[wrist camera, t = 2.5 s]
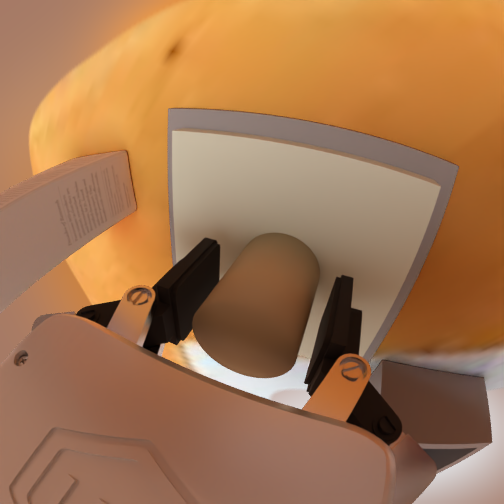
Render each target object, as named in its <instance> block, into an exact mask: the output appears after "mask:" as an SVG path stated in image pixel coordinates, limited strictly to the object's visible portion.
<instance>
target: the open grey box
mask: <svg viewBox="0 0 504 504" xmlns="http://www.w3.org/2000/svg"><path fill="white" fill-rule="evenodd" d="M369 381H370V383H371V384H372V385H373V386H374V388H375V389H376V390H377V391H378V392H379V394H380V395H381V396H382V397H383V398H384V400H385V401H386V402H387V403H388V405H389V406H390V407H391V408H392V409H393V411H394V412H395V413H396V414H397V416H398V417H399V419H400V420H401V423H402V431H403V432H404V434H405V435H407V434H409V435H410V436H411V437H412V438H413V439H414V440H415V441H416V442H417V443H418V444H419V446H420V447H421V448H422V449H423V450H424V451H425V452H426V453H427V454H428V455H429V456H430V457H431V458H432V459H433V460H434V462H435V464H436V466H437V473H439V472H441V471H443V470H445V469H447V468H449V467H451V466H453V465H455V464H457V463H459V462H461V461H462V460H464V459H466V458H468V457H469V456H471V455H473V454H475V453H476V452H478V451H479V450H481V449H483V448H484V447H486V446H487V445H489V444H490V443H492V434H491V422H490V413H489V405H488V399H487V392H486V386H485V381H484V378H483V377H475V376H468V375H461V374H454V373H448V372H442V371H436V370H430V369H425V368H420V367H414V366H409V365H404V364H399V363H395V362H390V361H385V360H382V361H381V363H380V364H379V366H378V367H377V368H376V370H375V371H374V372H373V374H372V375H371V376H370V379H369ZM437 473H436V474H437Z"/></svg>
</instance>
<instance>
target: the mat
mask: <svg viewBox="0 0 504 504" xmlns="http://www.w3.org/2000/svg"><path fill="white" fill-rule="evenodd" d="M181 128H193V129H205V130H216V131H226V132H235V133H243V134H250V135H257V136H264V137H271V138H277V139H283V140H288V141H294V142H299V143H304V144H309V145H314V146H319V147H323V148H328V149H332V150H336V151H341V152H345V153H349V154H353V155H356V156H360V157H364V158H368V159H371V160H375V161H378V162H382V163H385V164H388V165H391V166H395V167H398V168H401V169H404V170H407V171H410V172H413V173H416V174H419V175H422V176H425V177H427V178H430V179H433V180H435V181H436V182H437V183H438V184H439V185H440V186H441V188H440V191H439V194H438V198H437V201H436V204H435V207H434V210H433V213H432V215H431V218H430V221H429V224H428V226H427V229H426V232H425V234H424V237H423V239H422V242H421V244H420V247H419V249H418V252H417V254H416V256H415V259H414V261H413V263H412V266H411V268H410V270H409V272H408V274H407V276H406V279H405V281H404V283H403V285H402V287H401V289H400V291H399V293H398V295H397V297H396V299H395V301H394V303H393V305H392V307H391V309H390V311H389V313H388V314H387V316H386V318H385V320H384V322H383V324H382V325H381V327H380V329H379V331H378V332H377V334H376V336H375V337H374V339H373V341H372V343H371V344H370V346H369V348H368V349H367V351H366V352H365V354H364V356H363V358H364V359H365V360H366V361H367V362H368V363H369V361H370V360H371V358H372V357H373V355H374V353H375V352H376V350H377V349H378V347H379V346H380V344H381V343H382V341H383V339H384V338H385V336H386V334H387V333H388V331H389V329H390V328H391V326H392V324H393V323H394V321H395V319H396V317H397V316H398V314H399V312H400V310H401V308H402V307H403V305H404V303H405V301H406V299H407V297H408V295H409V293H410V291H411V289H412V287H413V285H414V283H415V281H416V279H417V277H418V275H419V273H420V271H421V269H422V267H423V265H424V262H425V260H426V258H427V256H428V253H429V251H430V249H431V246H432V244H433V242H434V239H435V237H436V234H437V232H438V229H439V226H440V224H441V221H442V218H443V216H444V213H445V210H446V207H447V204H448V201H449V198H450V195H451V192H452V189H453V186H454V182H455V179H456V176H457V172H458V168H459V166H457V165H456V164H453V163H451V162H448V161H446V160H444V159H441V158H438V157H436V156H433V155H431V154H428V153H425V152H422V151H420V150H417V149H414V148H411V147H408V146H405V145H402V144H399V143H396V142H392V141H389V140H386V139H382V138H379V137H375V136H372V135H368V134H364V133H361V132H357V131H353V130H349V129H344V128H340V127H336V126H331V125H326V124H322V123H317V122H311V121H306V120H300V119H294V118H288V117H282V116H275V115H267V114H259V113H250V112H240V111H229V110H214V109H191V108H171V109H168V193H169V215H170V232H171V246H172V258H173V266H174V265H175V264H176V251H175V236H174V217H173V190H172V131H173V130H177V129H181Z"/></svg>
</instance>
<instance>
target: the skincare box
mask: <svg viewBox="0 0 504 504" xmlns="http://www.w3.org/2000/svg"><path fill="white" fill-rule="evenodd" d="M136 208H137V205H136V201H135V196H134V191H133V186H132V181H131V175H130V169H129V162H128V156H127V152H126V151H125V150H124V151H116V152H109V153H103V154H96V155H90V156H84V157H79V158H74V159H72V160H69V161H67V162H64V163H62V164H59V165H57V166H55V167H52V168H50V169H48V170H46V171H43V172H41V173H39V174H37V175H35V176H33V177H31V178H29V179H27V180H25V181H23V182H21V183H19V184H17V185H15V186H13V187H11V188H9V189H7V190H5V191H4V192H2V193H0V313H1V312H2V311H3V310H4V309H6V308H7V307H8V306H9V305H10V304H11V303H12V302H13V301H14V300H15V299H17V298H18V297H19V296H20V295H21V294H22V293H24V292H25V291H26V290H27V289H28V288H30V287H31V286H32V285H33V284H34V283H35V282H37V281H38V280H39V279H40V278H42V277H43V276H44V275H45V274H46V273H48V272H49V271H51V270H52V269H53V268H54V267H56V266H57V265H58V264H59V263H61V262H62V261H63V260H65V259H66V258H68V257H69V256H70V255H72V254H73V253H74V252H76V251H77V250H78V249H80V248H81V247H83V246H84V245H85V244H87V243H88V242H89V241H91V240H92V239H94V238H95V237H97V236H98V235H100V234H101V233H102V232H104V231H105V230H107V229H108V228H110V227H111V226H113V225H114V224H116V223H117V222H119V221H120V220H122V219H123V218H125V217H126V216H128V215H130V214H131V213H133V212H134V211H136Z"/></svg>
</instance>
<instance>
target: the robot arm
mask: <svg viewBox="0 0 504 504" xmlns="http://www.w3.org/2000/svg"><path fill="white" fill-rule="evenodd" d="M219 278H220V244H218V242H217V240H214V239H210V238H206V237H205V238H204V239H203V240H202V241H201V242H200V243H199V244H197V245H196V246H195V247H194V248H193V249H192V250H191V251H190V252H189V253H188V254H187V255H186V256H185V257H184V258H183V259H181V260H180V261H178V262H177V263H176V264H175V265H174V266H173V267H172V268H171V269H170V270H169V271H168V272H167V273H166V274H165V275H164V276H163V277H162V278H161V279H160V280H159V281H158V282H157V283H156V284H155V285H154V286H153V287H152V288H151V287H149V286H145V285H138V286H134V287H132V288H130V289H128V290H127V291H126V292H125V294H124V296H123V297H122V299H121V300H118V301H113V302H107V303H102V304H96V305H91V306H87V307H84V308H82V309H81V310H79V311H78V312H77V314H76V313H75V312H66V313H56V314H46V315H42V316H40V317H38V318H37V319H36V320H35V322H34V324H33V327H32V331H31V333H29V334H28V335H27V336H26V337H25V338H24V339H23V340H22V341H21V342H20V343H19V344H18V345H17V346H16V347H15V349H14V350H13V351H12V352H11V353H10V354H9V355H8V356H7V358H6V359H5V360H4V361H3V362H2V363H1V364H0V504H412V503H413V502H414V501H415V500H416V499H417V498H418V497H419V495H420V494H422V492H423V491H424V490H425V489H426V488H427V487H428V486H429V484H430V483H431V482H432V481H433V479H434V478H435V476H436V473H437V466H436V464H435V462H434V460H433V459H432V458H431V457H430V456H429V455H428V454H427V453H426V452H425V451H424V450H423V449H422V448H421V447H420V446H419V444H418V443H417V442H416V441H415V440H414V439H413V438H412V437H411V436H410V435H409V434H407V435H405V434H404V432H403V431H402V423H401V420H400V419H399V417H398V416H397V414H396V413H395V412H394V411H393V409H392V408H391V407H390V406H389V405H388V403H387V402H386V401H385V400H384V398H383V397H382V396H381V395H380V394H379V392H378V391H377V390H376V389H375V388H374V386H373V385H372V384H371V383H370V381H369V379H370V376H371V367H370V365H369V363H368V362H367V361H366V360H365V359H364V358H363V357H361V356H359V349H360V338H361V326H362V310H358V309H354V308H351V303H352V292H353V280H354V279H353V278H352V277H349V276H345V275H341V278H340V277H336V279H335V282H334V285H333V288H332V291H331V294H330V296H329V299H328V302H327V305H326V308H325V310H324V313H323V316H322V319H321V322H320V325H319V329H318V333H317V337H316V341H315V345H314V349H313V353H312V356H311V360H310V364H309V367H308V371H307V375H306V378H305V382H304V383H305V384H308V388H307V392H309V395H310V396H311V398H310V399H309V401H308V402H307V403H306V404H305V406H304V407H303V408H302V410H301V409H298V408H294V407H291V406H288V405H284V404H281V403H278V402H275V401H271V400H268V399H265V398H262V397H259V396H256V395H253V394H251V393H248V392H245V391H242V390H239V389H237V388H234V387H231V386H229V385H226V384H223V383H221V382H218V381H216V380H213V379H211V378H208V377H206V376H203V375H201V374H199V373H196V372H194V371H192V370H189V369H187V368H185V367H183V366H180V365H178V364H176V363H174V362H172V361H170V360H167V359H165V358H163V357H161V356H162V352H163V349H164V346H165V343H168V342H171V343H173V344H175V345H177V344H178V343H179V342H180V340H182V341H183V340H185V338H186V337H187V336H188V334H189V333H190V331H191V330H192V329H193V328H192V321H193V317H194V315H195V313H196V312H197V310H198V309H199V308H200V306H201V305H202V304H203V302H204V301H205V300H206V298H207V297H208V296H209V294H210V293H211V292H212V290H213V289H214V288H215V286H216V285H217V284H218V282H219Z"/></svg>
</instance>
